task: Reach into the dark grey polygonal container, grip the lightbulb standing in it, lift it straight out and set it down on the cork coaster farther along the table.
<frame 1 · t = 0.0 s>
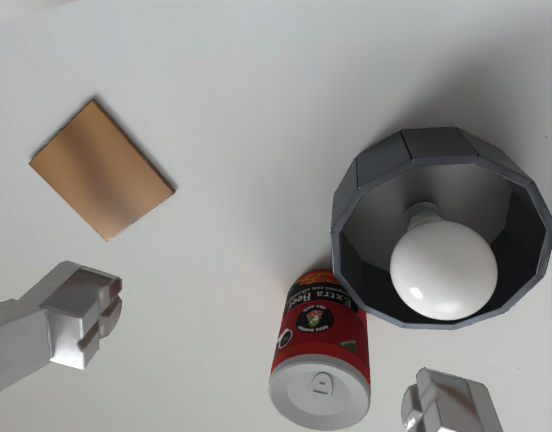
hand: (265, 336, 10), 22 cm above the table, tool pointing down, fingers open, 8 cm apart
coaster: (102, 176, 35), on the table
dark grey polygonal container: (421, 212, 31), on the table
lightbulb: (420, 211, 32), resting in dark grey polygonal container
canned food: (325, 298, 38), on the table
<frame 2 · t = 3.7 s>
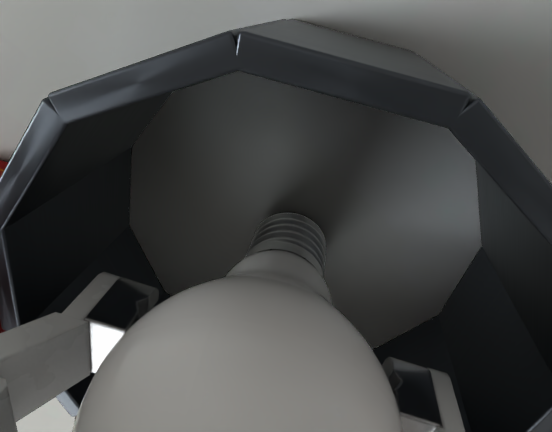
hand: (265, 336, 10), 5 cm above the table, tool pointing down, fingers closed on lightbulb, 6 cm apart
dark grey polygonal container: (292, 234, 15), on the table
lightbulb: (292, 232, 15), resting in dark grey polygonal container, touching gripper
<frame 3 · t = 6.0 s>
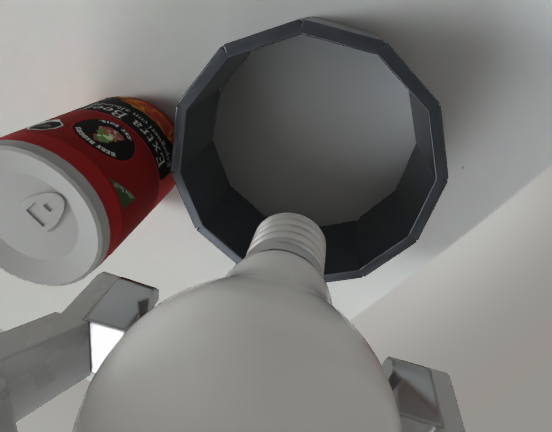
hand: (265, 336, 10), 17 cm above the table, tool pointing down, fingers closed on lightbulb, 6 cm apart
dark grey polygonal container: (310, 141, 25), on the table
lightbulb: (292, 232, 15), point 12 cm above the table, touching gripper
canned food: (136, 147, 28), on the table
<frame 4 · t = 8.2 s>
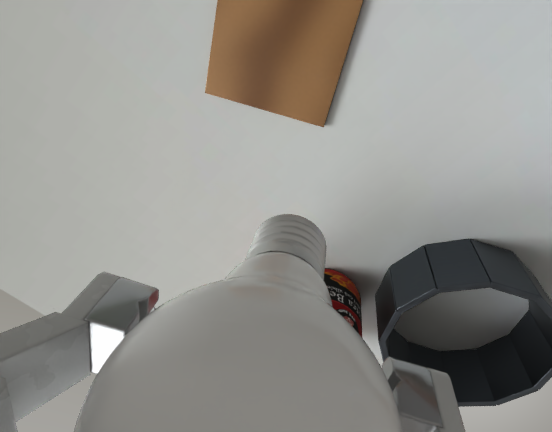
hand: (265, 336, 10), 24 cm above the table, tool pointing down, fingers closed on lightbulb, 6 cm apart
coaster: (279, 43, 28), on the table
dark grey polygonal container: (452, 302, 37), on the table
lightbulb: (292, 233, 15), point 18 cm above the table, touching gripper
canned food: (321, 294, 39), on the table
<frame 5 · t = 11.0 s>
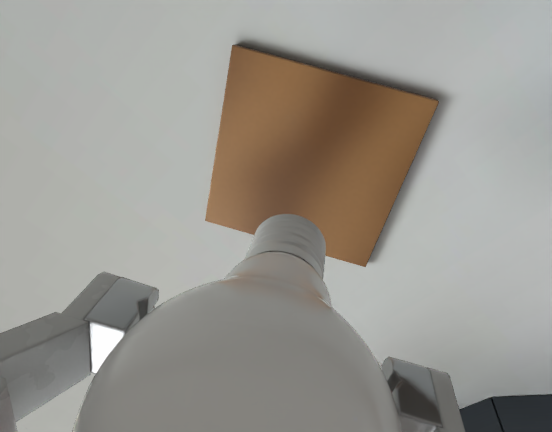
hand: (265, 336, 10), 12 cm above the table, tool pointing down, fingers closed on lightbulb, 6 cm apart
coaster: (307, 166, 21), on the table
lightbulb: (292, 233, 15), point 7 cm above the table, touching gripper
when the fingers open (6 cm above the table, at t = 13.1 s): lightbulb stays where it is, resting on coaster.
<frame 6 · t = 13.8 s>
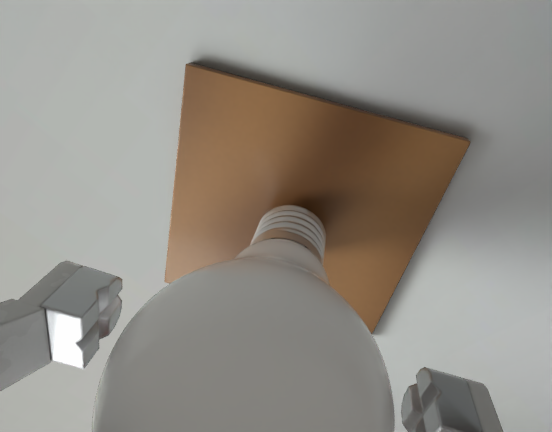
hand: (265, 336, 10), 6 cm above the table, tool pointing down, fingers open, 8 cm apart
coaster: (292, 219, 16), on the table
lightbulb: (294, 224, 16), resting on coaster
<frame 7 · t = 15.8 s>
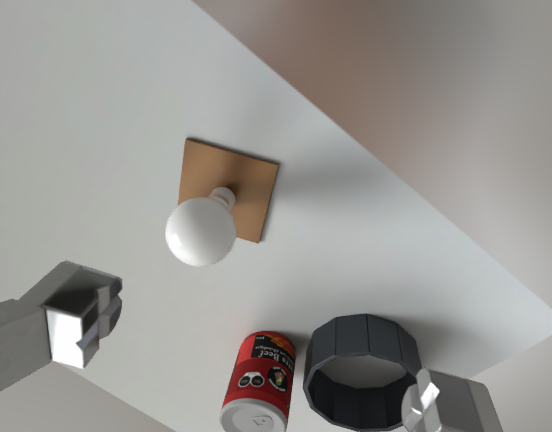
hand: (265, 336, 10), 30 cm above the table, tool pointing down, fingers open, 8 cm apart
coaster: (224, 193, 42), on the table
dark grey polygonal container: (361, 355, 51), on the table
lightbulb: (225, 194, 42), resting on coaster
canned food: (268, 348, 53), on the table
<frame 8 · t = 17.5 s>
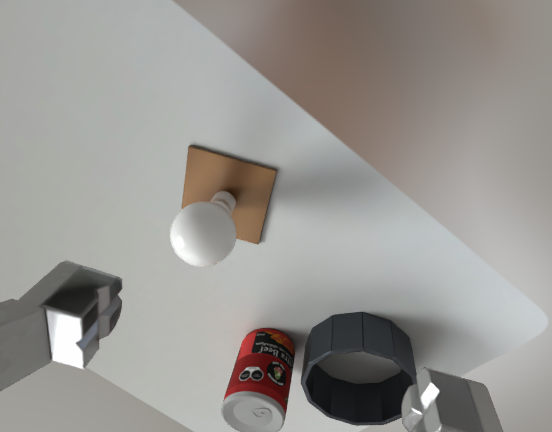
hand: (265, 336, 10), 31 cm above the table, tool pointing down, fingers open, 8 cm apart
coaster: (226, 196, 44), on the table
dark grey polygonal container: (358, 351, 53), on the table
lightbulb: (226, 198, 44), resting on coaster
canned food: (269, 345, 55), on the table
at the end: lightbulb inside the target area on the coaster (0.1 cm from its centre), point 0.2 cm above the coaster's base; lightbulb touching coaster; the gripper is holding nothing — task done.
